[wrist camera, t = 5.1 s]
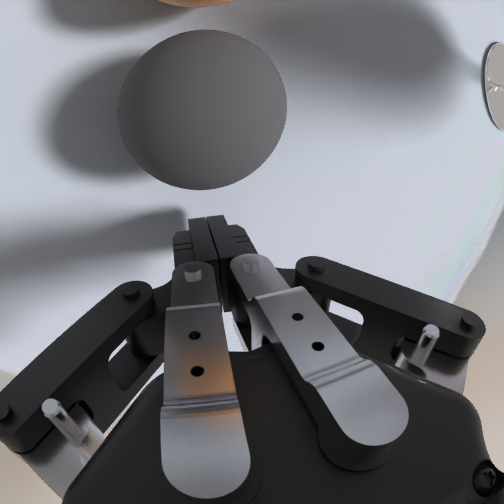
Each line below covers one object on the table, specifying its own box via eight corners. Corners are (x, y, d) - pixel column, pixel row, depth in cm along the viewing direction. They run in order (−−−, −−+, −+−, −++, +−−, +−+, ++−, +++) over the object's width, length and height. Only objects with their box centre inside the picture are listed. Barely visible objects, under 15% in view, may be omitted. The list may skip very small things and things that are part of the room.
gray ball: (126, 236, 9) (134, 149, 12) (296, 215, 10) (254, 138, 13) (92, 56, 5) (123, 30, 8) (332, 51, 6) (266, 25, 9)
